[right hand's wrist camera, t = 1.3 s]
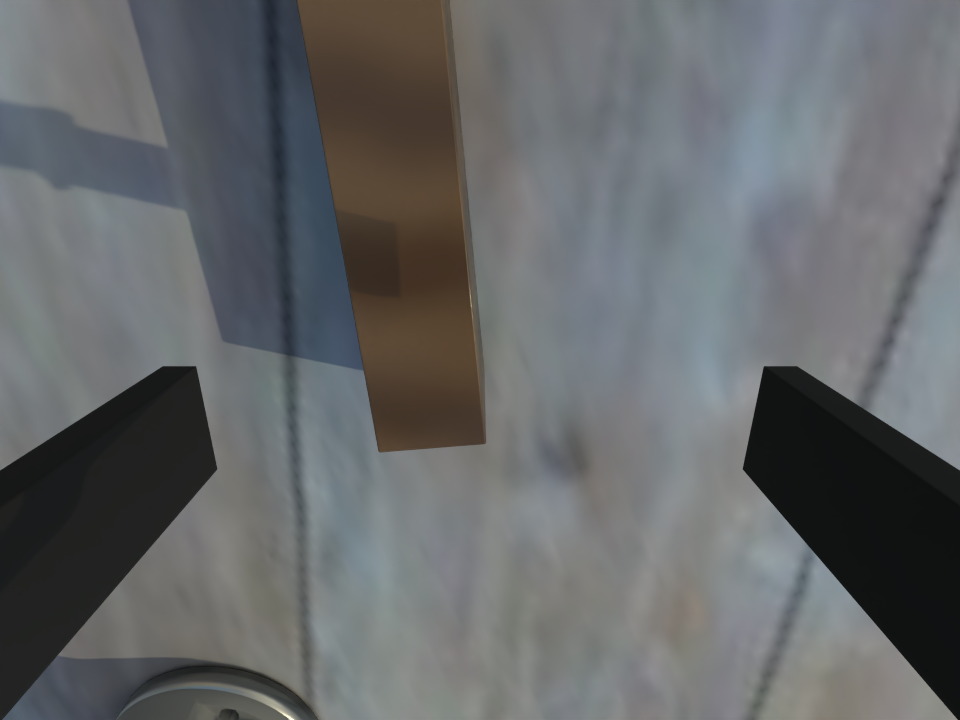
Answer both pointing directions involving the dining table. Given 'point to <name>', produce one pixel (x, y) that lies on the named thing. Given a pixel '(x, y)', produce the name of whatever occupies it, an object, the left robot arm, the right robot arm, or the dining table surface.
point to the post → (401, 212)
